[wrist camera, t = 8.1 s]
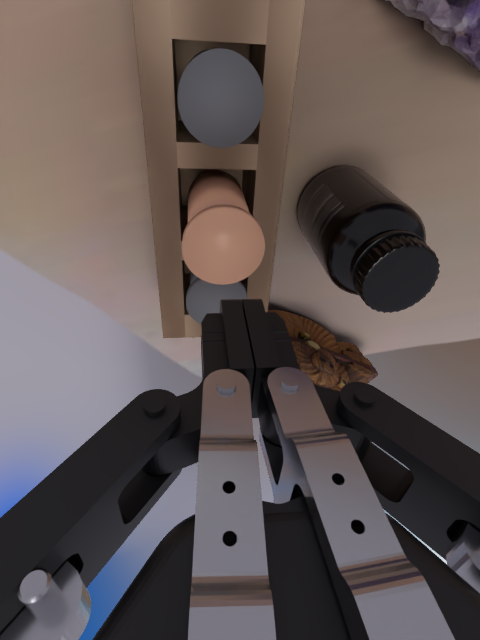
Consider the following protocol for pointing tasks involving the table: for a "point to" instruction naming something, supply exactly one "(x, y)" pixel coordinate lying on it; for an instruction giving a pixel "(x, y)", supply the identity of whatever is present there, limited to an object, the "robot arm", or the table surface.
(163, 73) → the walnut socket block
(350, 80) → the table surface
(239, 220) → the terracotta plug
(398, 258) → the supplement bottle
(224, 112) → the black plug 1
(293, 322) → the wooden carving
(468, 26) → the geode
